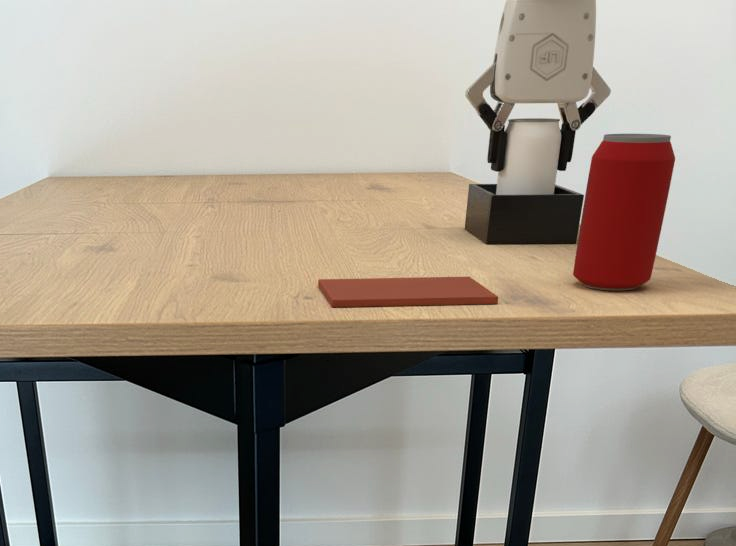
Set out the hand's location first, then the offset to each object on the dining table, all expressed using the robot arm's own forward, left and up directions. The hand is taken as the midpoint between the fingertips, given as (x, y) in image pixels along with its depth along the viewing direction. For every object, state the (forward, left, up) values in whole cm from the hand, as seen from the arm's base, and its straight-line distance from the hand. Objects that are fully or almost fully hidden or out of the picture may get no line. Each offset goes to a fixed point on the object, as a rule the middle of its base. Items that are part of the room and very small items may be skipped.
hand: (528, 168), depth 107 cm
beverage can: (-27, +14, -7) cm, 31 cm away
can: (0, 0, -7) cm, 7 cm away
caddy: (0, 0, -7) cm, 7 cm away
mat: (-21, +32, -7) cm, 39 cm away
